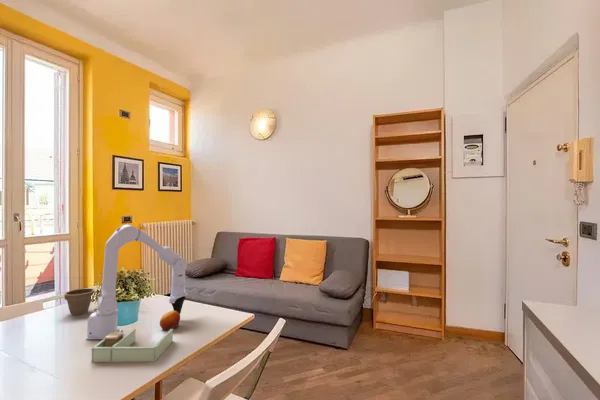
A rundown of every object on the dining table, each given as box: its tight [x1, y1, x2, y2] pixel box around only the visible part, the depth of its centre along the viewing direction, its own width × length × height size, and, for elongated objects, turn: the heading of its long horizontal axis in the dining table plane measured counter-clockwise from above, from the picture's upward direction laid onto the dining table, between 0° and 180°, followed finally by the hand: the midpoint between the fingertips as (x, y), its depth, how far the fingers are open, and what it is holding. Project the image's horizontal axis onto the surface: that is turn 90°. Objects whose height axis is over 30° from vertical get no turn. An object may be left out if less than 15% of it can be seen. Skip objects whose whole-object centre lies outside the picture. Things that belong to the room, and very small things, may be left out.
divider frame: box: [91, 328, 174, 363], centre depth 103 cm, size 21×15×4 cm
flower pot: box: [64, 287, 96, 316], centre depth 138 cm, size 12×11×10 cm
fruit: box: [159, 310, 181, 331], centre depth 123 cm, size 8×8×8 cm
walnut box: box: [104, 331, 124, 347], centre depth 102 cm, size 4×4×6 cm
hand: (177, 314), depth 131 cm, fingers closed
